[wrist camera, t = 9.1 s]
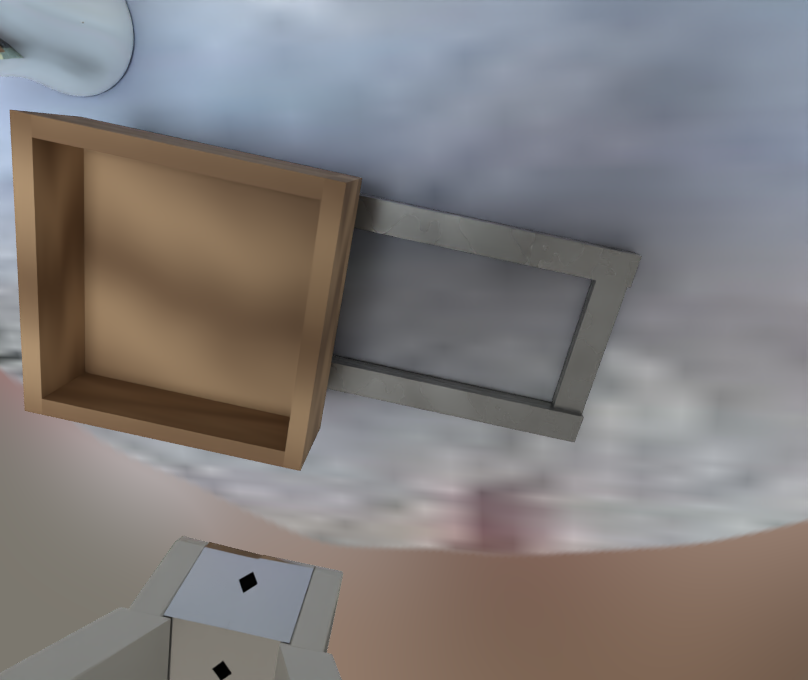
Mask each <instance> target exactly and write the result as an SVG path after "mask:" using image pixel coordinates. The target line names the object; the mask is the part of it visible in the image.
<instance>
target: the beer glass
mask: <svg viewBox="0 0 808 680" xmlns="http://www.w3.org/2000/svg"><path fill="white" fill-rule="evenodd" d="M133 42H134V35H133V25H132V20H131V16H130V12H129V9H128V6H127V4H126V1H125V0H0V77H19V78H25V79H29V80H31V81H34V82H36V83H38V84H41V85H43V86H45V87H47V88H50V89H52V90H55V91H57V92H60V93H63V94H67V95H71V96H78V97H86V96H93V95H97V94H100V93H103V92H105V91H107V90H108V89H110V88H111V87H113V86H114V85H115V84H116V83H117V82H118V81H119V80H120V79H121V78H122V76H123V75H124V73H125V71H126V70H127V68H128V65H129V63H130V60H131V56H132V51H133Z"/></svg>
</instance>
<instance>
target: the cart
mask: <svg viewBox="0 0 808 680" xmlns="http://www.w3.org/2000/svg"><path fill="white" fill-rule="evenodd" d="M10 126H11V146H12V166H13V186H14V206H15V226H16V246H17V266H18V286H19V306H20V326H21V346H22V366H23V386H24V404H25V411H28V412H33V413H37V414H42V415H47V416H51V417H56V418H60V419H65V420H69V421H74V422H79V423H83V424H88V425H92V426H97V427H102V428H106V429H111V430H115V431H120V432H125V433H129V434H134V435H138V436H143V437H147V438H152V439H157V440H161V441H166V442H170V443H175V444H180V445H184V446H189V447H193V448H198V449H203V450H207V451H212V452H216V453H221V454H225V455H230V456H235V457H239V458H244V459H248V460H253V461H258V462H262V463H267V464H271V465H276V466H281V467H285V468H290V469H294V470H299V471H301V468H302V466H303V464H304V462H305V460H306V457H307V455H308V453H309V451H310V449H311V446H312V444H313V442H314V440H315V438H316V436H317V433H318V431H319V429H320V426H321V420H322V414H323V408H324V402H325V396H326V391H327V385H328V379H329V373H330V367H331V361H332V355H333V349H334V343H335V337H336V331H337V325H338V319H339V313H340V308H341V302H342V296H343V290H344V284H345V278H346V272H347V266H348V260H349V254H350V248H351V242H352V236H353V230H354V224H355V219H356V213H357V207H358V201H359V195H360V189H361V183H362V178H360V177H356V176H351V175H346V174H342V173H337V172H333V171H328V170H323V169H319V168H314V167H310V166H305V165H300V164H296V163H291V162H286V161H282V160H277V159H273V158H268V157H263V156H259V155H254V154H250V153H245V152H240V151H236V150H231V149H227V148H222V147H217V146H213V145H208V144H203V143H199V142H194V141H190V140H185V139H180V138H176V137H171V136H167V135H162V134H157V133H153V132H148V131H144V130H139V129H134V128H130V127H125V126H120V125H116V124H111V123H107V122H102V121H97V120H93V119H88V118H84V117H77V116H67V115H57V114H47V113H37V112H27V111H17V110H10Z"/></svg>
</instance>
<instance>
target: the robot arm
mask: <svg viewBox="0 0 808 680" xmlns="http://www.w3.org/2000/svg"><path fill="white" fill-rule="evenodd" d="M342 577H343V572H342V571H338V570H333V569H328V568H323V567H319V566H314V565H309V564H304V563H300V562H295V561H290V560H285V559H281V558H275V557H271V556H266V555H259V554H255V553H251V552H247V551H243V550H239V549H235V548H231V547H227V546H223V545H219V544H215V543H211V542H205V541H201V540H197V539H193V538H189V537H185V536H182V537H181V538H179V539H178V540H177V541H175V543H174V544H173V545H172V547H171V548H170V550H169V551H168V553H167V554H166V556H165V557H164V558H163V560H162V561H161V563H160V564H159V566H158V567H157V569H156V570H155V571H154V573H153V574H152V576H151V577H150V579H149V580H148V581H147V583H146V584H145V586H144V587H143V589H142V590H141V592H140V593H139V594H138V596H137V597H136V599H135V600H134V602H133V603H132V605H131V606H130V607H129V609H127V608H121V607H119V608H117V609H115V610H114V611H112V612H110V613H108V614H106V615H105V616H103V617H101V618H99V619H97V620H95V621H94V622H92V623H90V624H88V625H86V626H85V627H83V628H81V629H79V630H77V631H76V632H74V633H72V634H70V635H68V636H66V637H65V638H63V639H61V640H59V641H57V642H55V643H54V644H52V645H50V646H48V647H46V648H44V649H43V650H41V651H39V652H37V653H36V654H33V655H32V656H30V657H28V658H26V659H24V660H23V661H21V662H19V663H17V664H15V665H13V666H12V667H10V668H8V669H6V670H5V671H3V672H1V673H0V680H342V679H341V677H340V674H339V672H338V669H337V666H336V664H335V661H334V658H333V656H332V654H328V653H327V649H328V644H329V639H330V635H331V630H332V625H333V620H334V616H335V610H336V606H337V601H338V597H339V591H340V586H341V582H342Z"/></svg>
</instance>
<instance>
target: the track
mask: <svg viewBox="0 0 808 680" xmlns="http://www.w3.org/2000/svg"><path fill="white" fill-rule="evenodd" d="M354 228H357V229H362V230H367V231H371V232H376V233H380V234H385V235H390V236H394V237H399V238H403V239H408V240H413V241H417V242H422V243H426V244H431V245H436V246H440V247H445V248H450V249H454V250H459V251H463V252H468V253H473V254H477V255H482V256H486V257H491V258H496V259H500V260H505V261H509V262H514V263H519V264H523V265H528V266H532V267H537V268H542V269H546V270H551V271H555V272H560V273H565V274H569V275H574V276H579V277H583V278H588V279H592V283H591V286H590V289H589V292H588V295H587V298H586V301H585V304H584V307H583V310H582V313H581V316H580V319H579V322H578V325H577V328H576V331H575V334H574V337H573V340H572V343H571V346H570V349H569V352H568V355H567V358H566V361H565V364H564V367H563V370H562V373H561V376H560V379H559V382H558V385H557V388H556V391H555V394H554V397H553V400H552V403H550V402H545V401H540V400H536V399H531V398H527V397H522V396H517V395H513V394H508V393H504V392H499V391H495V390H490V389H485V388H481V387H476V386H472V385H467V384H462V383H458V382H453V381H449V380H444V379H439V378H435V377H430V376H426V375H421V374H416V373H412V372H407V371H403V370H398V369H393V368H389V367H384V366H380V365H375V364H370V363H366V362H361V361H357V360H352V359H347V358H343V357H338V356H334V355H332V361H331V367H330V373H329V379H328V385H327V389H332V390H336V391H341V392H345V393H350V394H355V395H359V396H364V397H368V398H373V399H378V400H382V401H387V402H391V403H396V404H401V405H405V406H410V407H414V408H419V409H424V410H428V411H433V412H437V413H442V414H447V415H451V416H456V417H460V418H465V419H470V420H474V421H479V422H483V423H488V424H492V425H497V426H502V427H506V428H511V429H515V430H520V431H525V432H529V433H534V434H538V435H543V436H548V437H552V438H557V439H561V440H566V441H571V442H575V440H576V437H577V434H578V431H579V429H580V426H581V423H582V420H583V418H584V417H583V415H582V412H583V409H584V406H585V404H586V401H587V398H588V395H589V392H590V390H591V387H592V384H593V381H594V379H595V376H596V373H597V370H598V367H599V365H600V362H601V359H602V356H603V354H604V351H605V348H606V345H607V342H608V340H609V337H610V334H611V331H612V328H613V326H614V323H615V320H616V317H617V315H618V312H619V309H620V306H621V303H622V301H623V298H624V295H625V292H626V289H627V287H629V288H630V287H631V285H632V282H633V279H634V276H635V274H636V271H637V268H638V265H639V263H640V260H641V257H642V256H640V255H638V254H636V253H633V252H629V251H624V250H620V249H615V248H610V247H606V246H601V245H596V244H592V243H587V242H583V241H578V240H573V239H569V238H564V237H560V236H555V235H550V234H546V233H541V232H537V231H532V230H527V229H523V228H518V227H513V226H509V225H504V224H500V223H495V222H490V221H486V220H481V219H477V218H472V217H467V216H463V215H458V214H454V213H449V212H444V211H440V210H435V209H430V208H426V207H421V206H417V205H412V204H407V203H403V202H398V201H394V200H389V199H384V198H380V197H375V196H371V195H366V194H361V193H360V195H359V201H358V207H357V213H356V219H355V224H354Z"/></svg>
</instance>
